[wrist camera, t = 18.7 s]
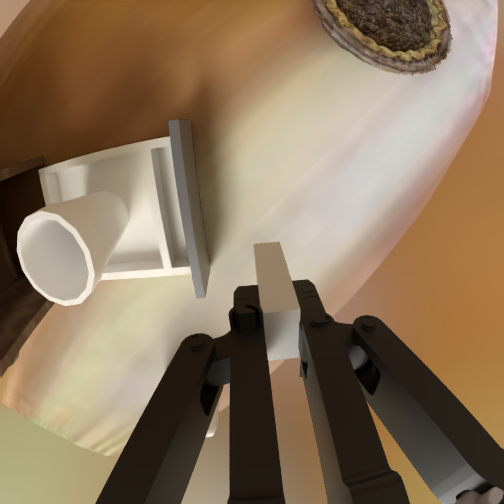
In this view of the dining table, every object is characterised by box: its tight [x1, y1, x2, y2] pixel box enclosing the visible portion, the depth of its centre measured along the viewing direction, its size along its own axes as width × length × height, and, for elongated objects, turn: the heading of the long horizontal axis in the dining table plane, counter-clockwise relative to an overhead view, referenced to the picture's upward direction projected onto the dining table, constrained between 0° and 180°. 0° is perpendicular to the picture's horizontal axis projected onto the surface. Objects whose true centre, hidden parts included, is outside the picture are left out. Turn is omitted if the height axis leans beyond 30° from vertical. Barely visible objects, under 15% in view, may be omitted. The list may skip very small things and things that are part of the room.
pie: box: [312, 0, 453, 76], centre depth 21 cm, size 28×27×5 cm
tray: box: [38, 119, 210, 298], centre depth 30 cm, size 20×19×7 cm
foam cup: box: [17, 191, 129, 306], centre depth 26 cm, size 10×9×13 cm
